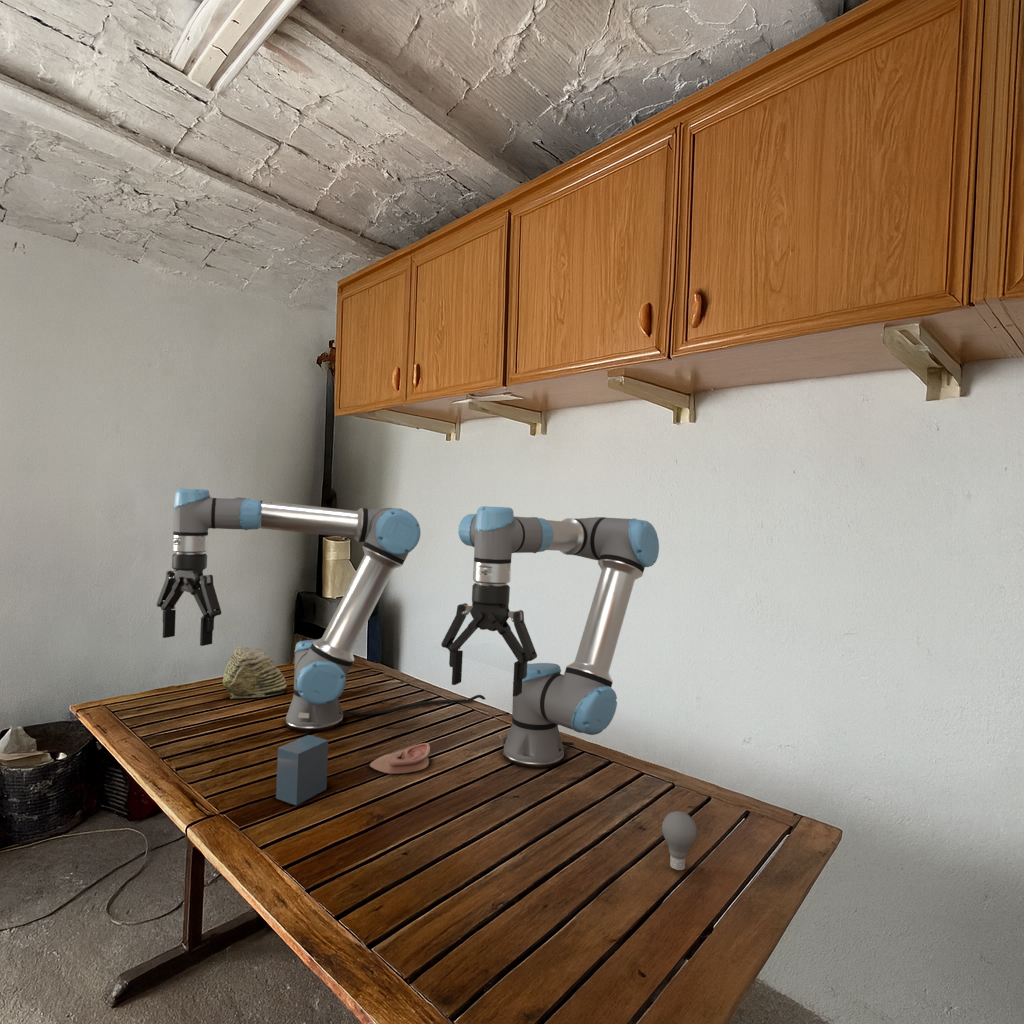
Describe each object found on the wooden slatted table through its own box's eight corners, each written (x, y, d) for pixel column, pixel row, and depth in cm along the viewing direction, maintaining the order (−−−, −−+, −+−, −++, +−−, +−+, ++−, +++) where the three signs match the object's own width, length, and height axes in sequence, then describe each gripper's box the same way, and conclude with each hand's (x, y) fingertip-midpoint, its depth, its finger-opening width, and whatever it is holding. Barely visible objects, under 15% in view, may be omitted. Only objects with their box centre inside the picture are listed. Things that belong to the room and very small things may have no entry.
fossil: (218, 695, 195) (220, 647, 195) (278, 685, 208) (279, 640, 207) (228, 703, 189) (230, 653, 188) (289, 692, 201) (290, 645, 201)
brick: (306, 782, 140) (308, 734, 140) (326, 789, 137) (328, 740, 137) (275, 798, 132) (277, 747, 132) (296, 805, 130) (298, 753, 129)
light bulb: (655, 859, 115) (658, 804, 115) (687, 858, 116) (690, 804, 116) (666, 878, 109) (669, 821, 109) (700, 878, 110) (702, 821, 110)
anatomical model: (364, 753, 147) (384, 735, 158) (364, 770, 147) (383, 751, 158) (419, 760, 144) (435, 742, 155) (418, 778, 144) (434, 758, 156)
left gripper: (142, 549, 154) (139, 636, 155) (211, 557, 143) (208, 651, 144) (170, 548, 161) (168, 631, 161) (239, 556, 150) (236, 645, 150)
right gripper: (428, 579, 128) (423, 683, 129) (542, 591, 118) (536, 704, 119) (446, 576, 135) (441, 674, 136) (556, 587, 125) (550, 694, 125)
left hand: (187, 640), depth 153 cm, fingers open, 13 cm apart
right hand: (486, 689), depth 127 cm, fingers open, 13 cm apart
